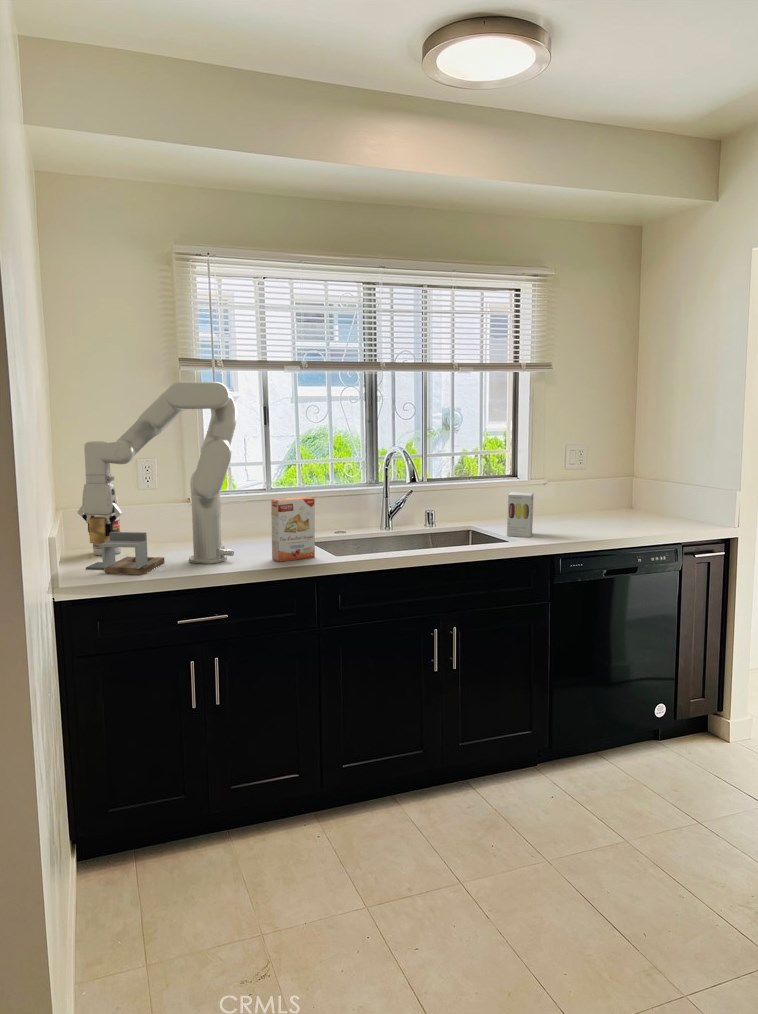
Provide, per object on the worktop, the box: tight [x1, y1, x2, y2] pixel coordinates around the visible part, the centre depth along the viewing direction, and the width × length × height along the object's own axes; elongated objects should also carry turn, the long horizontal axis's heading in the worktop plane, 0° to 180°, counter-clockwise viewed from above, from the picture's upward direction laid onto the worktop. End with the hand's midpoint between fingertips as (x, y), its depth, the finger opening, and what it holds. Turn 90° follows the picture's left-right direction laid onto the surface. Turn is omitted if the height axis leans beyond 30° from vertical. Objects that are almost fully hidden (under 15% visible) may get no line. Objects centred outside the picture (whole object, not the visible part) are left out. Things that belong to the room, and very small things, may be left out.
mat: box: [85, 561, 105, 570], centre depth 245 cm, size 8×8×1 cm
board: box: [104, 556, 166, 575], centre depth 243 cm, size 13×16×2 cm
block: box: [88, 516, 110, 544], centre depth 244 cm, size 5×5×8 cm
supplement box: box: [506, 491, 534, 538], centre depth 299 cm, size 10×9×17 cm
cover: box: [101, 531, 149, 569], centre depth 235 cm, size 12×7×10 cm, turn 84°
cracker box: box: [270, 496, 316, 563], centre depth 256 cm, size 14×6×21 cm, turn 123°
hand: (100, 534), depth 244 cm, fingers closed on block, 4 cm apart
